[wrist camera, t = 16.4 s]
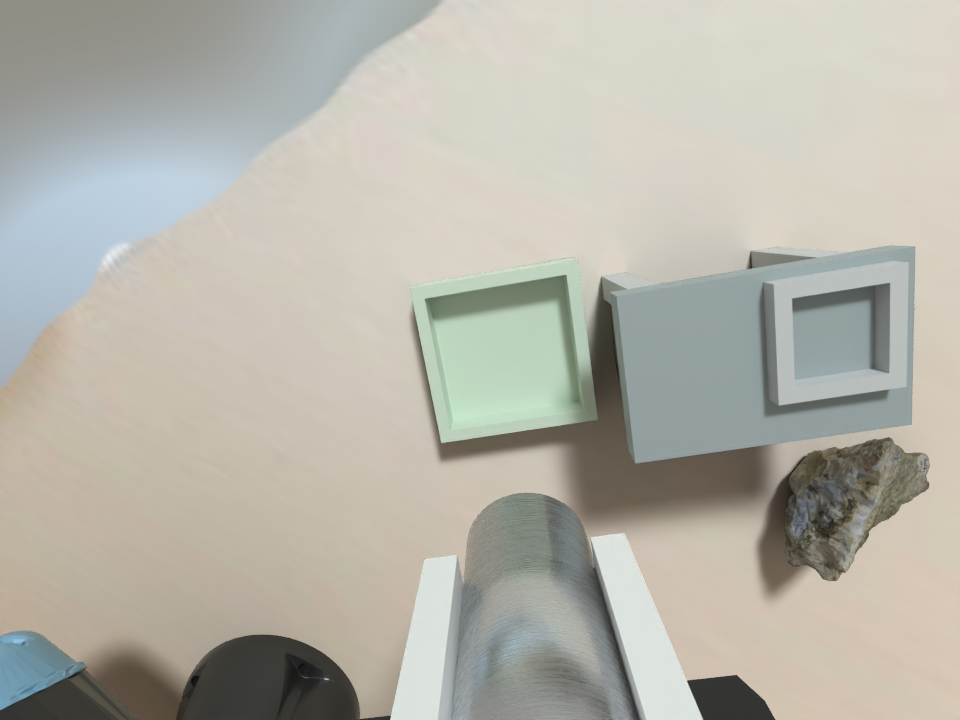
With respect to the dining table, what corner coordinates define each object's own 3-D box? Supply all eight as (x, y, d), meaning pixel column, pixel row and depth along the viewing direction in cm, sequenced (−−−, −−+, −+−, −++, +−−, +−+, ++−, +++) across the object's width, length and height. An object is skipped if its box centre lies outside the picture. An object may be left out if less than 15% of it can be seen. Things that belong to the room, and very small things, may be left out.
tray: (445, 428, 39) (441, 443, 37) (416, 284, 37) (409, 288, 34) (591, 406, 39) (597, 419, 36) (571, 257, 36) (577, 259, 33)
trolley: (600, 413, 39) (642, 489, 27) (583, 276, 36) (620, 298, 25) (798, 383, 38) (926, 450, 26) (794, 240, 35) (932, 247, 24)
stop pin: (474, 610, 15) (433, 1359, 5) (452, 499, 14) (351, 1132, 4) (598, 594, 14) (810, 1348, 5) (583, 480, 14) (799, 1104, 4)
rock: (913, 449, 30) (951, 457, 36) (808, 399, 35) (858, 414, 41) (808, 606, 33) (861, 588, 39) (724, 540, 37) (783, 534, 43)
